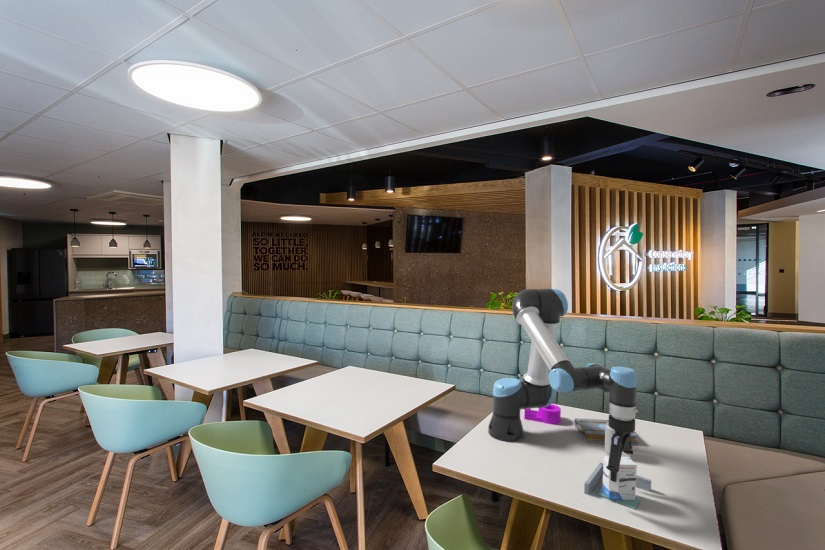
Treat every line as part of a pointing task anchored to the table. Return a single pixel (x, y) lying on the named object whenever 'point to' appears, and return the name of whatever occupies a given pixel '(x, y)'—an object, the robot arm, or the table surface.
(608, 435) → the beverage can
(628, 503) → the mat
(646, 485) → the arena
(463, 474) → the table surface
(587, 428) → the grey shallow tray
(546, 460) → the table surface
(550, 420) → the tape dispenser
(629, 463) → the ink box
